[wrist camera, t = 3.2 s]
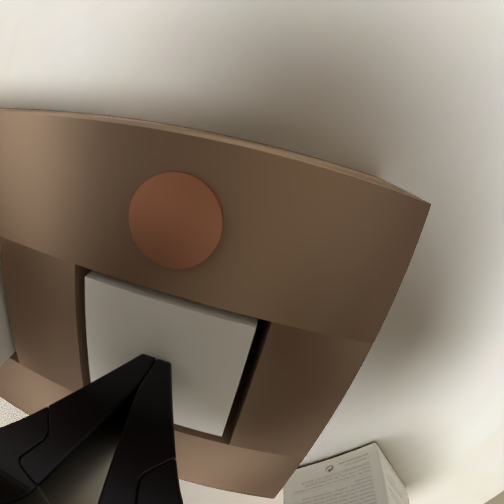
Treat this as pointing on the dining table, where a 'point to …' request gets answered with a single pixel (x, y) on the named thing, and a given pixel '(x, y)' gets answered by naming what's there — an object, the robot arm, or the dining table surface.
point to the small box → (347, 481)
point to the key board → (200, 268)
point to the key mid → (5, 325)
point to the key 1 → (170, 345)
